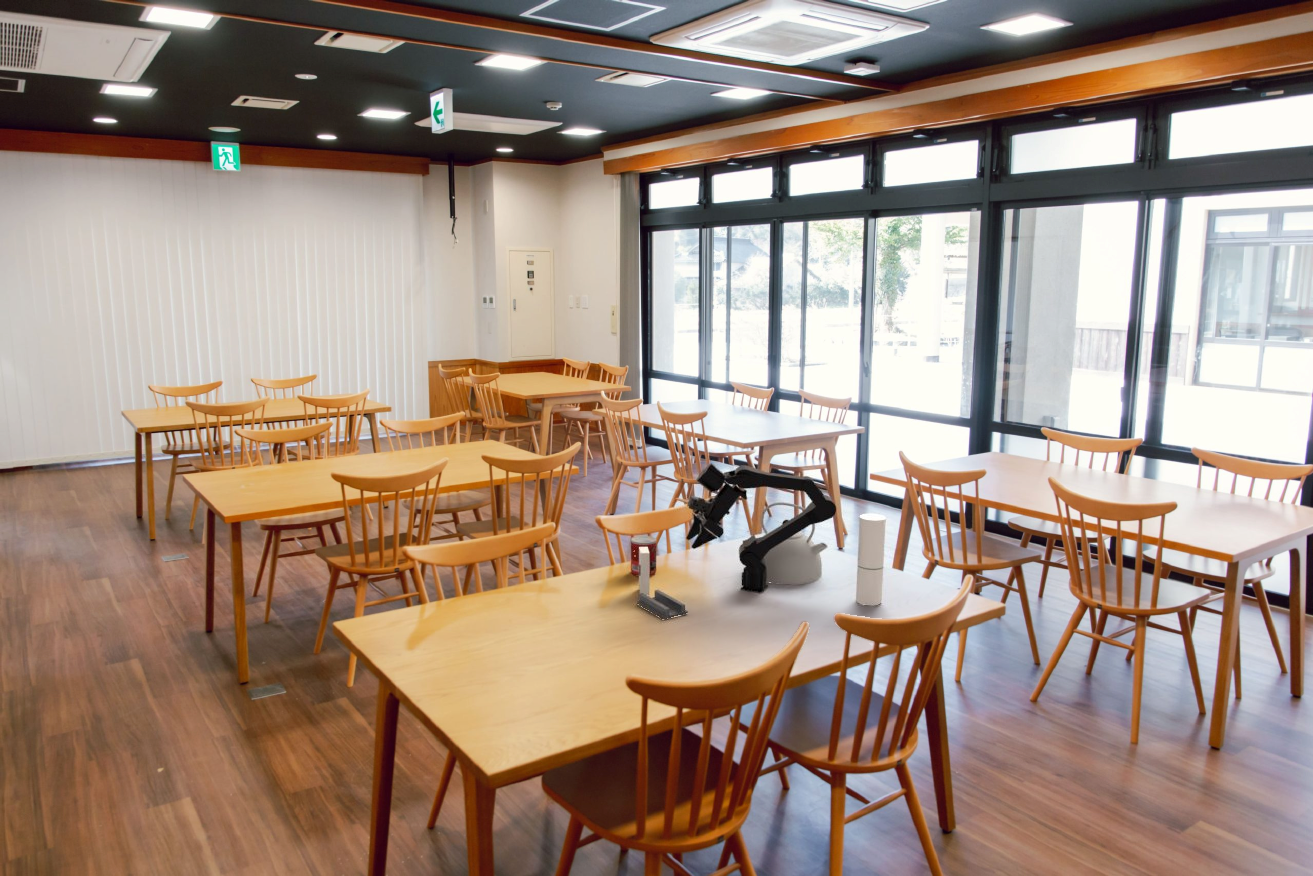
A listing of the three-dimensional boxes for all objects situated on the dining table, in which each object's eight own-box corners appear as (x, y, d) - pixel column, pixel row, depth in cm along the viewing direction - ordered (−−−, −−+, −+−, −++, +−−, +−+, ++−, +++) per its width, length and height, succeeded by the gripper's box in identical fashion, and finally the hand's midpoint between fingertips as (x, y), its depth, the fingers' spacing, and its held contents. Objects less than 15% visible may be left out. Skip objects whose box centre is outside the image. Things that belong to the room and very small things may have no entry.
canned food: (656, 577, 277) (656, 542, 275) (630, 577, 277) (630, 542, 275) (656, 569, 284) (656, 535, 282) (631, 568, 284) (631, 535, 282)
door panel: (647, 588, 267) (647, 546, 264) (649, 595, 261) (649, 553, 258) (637, 589, 266) (637, 547, 264) (639, 596, 260) (639, 553, 258)
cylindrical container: (879, 597, 259) (883, 514, 255) (883, 606, 252) (887, 520, 248) (854, 596, 260) (858, 513, 256) (857, 605, 253) (861, 520, 249)
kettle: (839, 570, 284) (842, 501, 280) (812, 591, 265) (814, 517, 261) (767, 557, 297) (769, 490, 293) (736, 576, 278) (737, 505, 274)
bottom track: (660, 599, 258) (660, 589, 257) (687, 614, 246) (687, 604, 246) (636, 604, 254) (636, 594, 253) (663, 620, 242) (663, 609, 242)
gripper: (696, 479, 270) (664, 519, 270) (708, 492, 252) (673, 536, 252) (724, 501, 272) (692, 541, 273) (738, 516, 254) (703, 558, 254)
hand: (689, 543), depth 263 cm, fingers open, 9 cm apart
